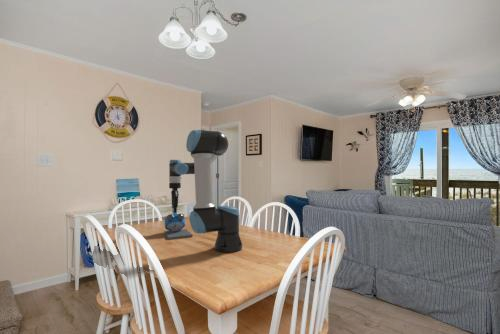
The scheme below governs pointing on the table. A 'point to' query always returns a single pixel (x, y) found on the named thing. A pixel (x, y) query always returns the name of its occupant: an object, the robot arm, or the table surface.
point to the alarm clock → (174, 222)
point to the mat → (177, 234)
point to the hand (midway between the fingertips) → (174, 217)
